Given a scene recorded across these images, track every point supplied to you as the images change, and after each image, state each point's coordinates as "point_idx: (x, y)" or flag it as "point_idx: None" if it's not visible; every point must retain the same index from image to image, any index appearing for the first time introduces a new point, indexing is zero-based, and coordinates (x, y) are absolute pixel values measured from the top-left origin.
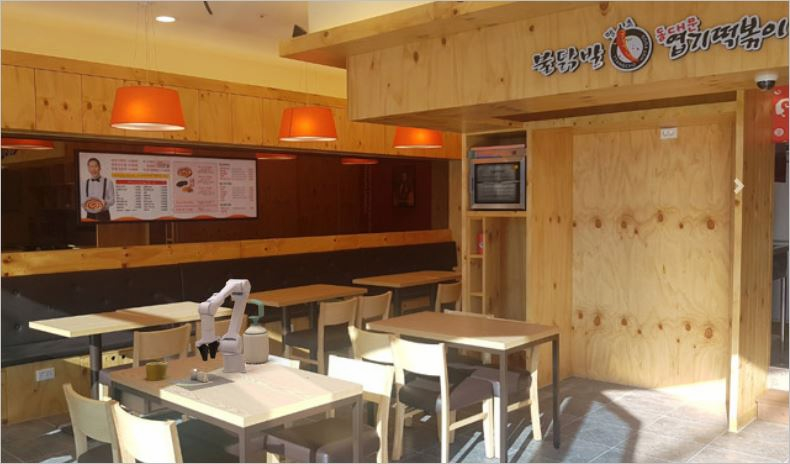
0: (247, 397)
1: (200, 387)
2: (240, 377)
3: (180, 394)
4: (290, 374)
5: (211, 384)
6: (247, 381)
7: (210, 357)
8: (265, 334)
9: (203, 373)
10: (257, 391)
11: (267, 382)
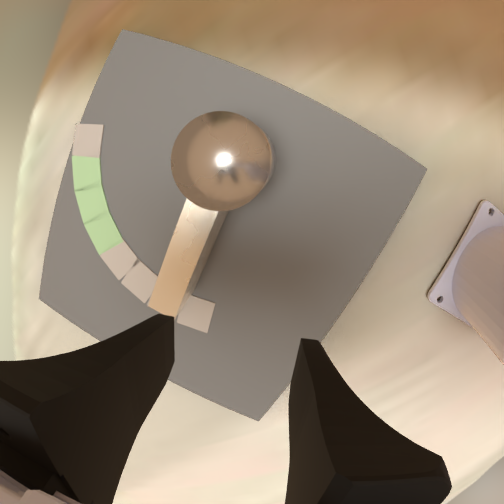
0: (124, 476)
1: (92, 313)
2: (398, 374)
3: (20, 258)
4: None
5: None
6: None
7: (302, 342)
8: None
9: (149, 302)
10: (190, 489)
11: None
